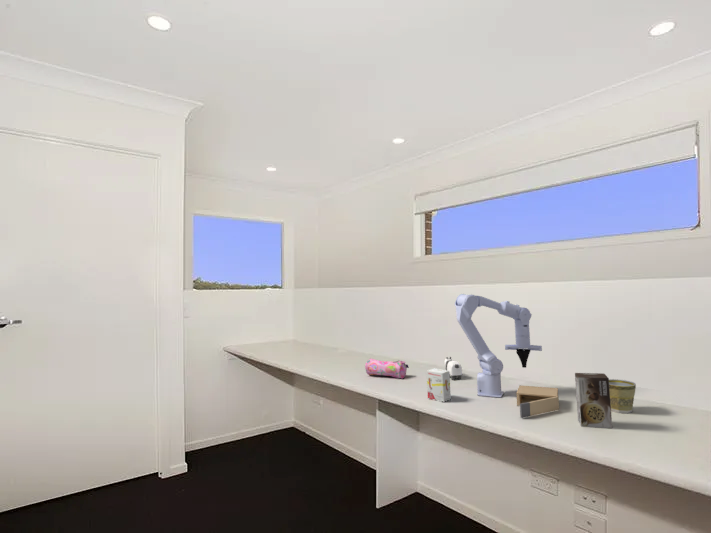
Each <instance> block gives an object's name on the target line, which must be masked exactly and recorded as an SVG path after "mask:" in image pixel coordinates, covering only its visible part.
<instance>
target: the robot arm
mask: <svg viewBox="0 0 711 533" xmlns="http://www.w3.org/2000/svg"><path fill="white" fill-rule="evenodd" d="M454 306H455V312H456V316H455V317H456V321H457V322H458V324H459V326H460V328H461V329H462V331H463V333H464V334H465V335H466V337H467V339H468V341H469V342H470V344H471V346H472V348H473V349H474V350H475V353H476V354H477V359H478V362H479V366H480V368H481V369H482V372H477V375H476V381H477V382H476V385H477V386H476V387H477V396H482V397H491V398H502V396H503V394H504V392H505V391H502V376H501V373H502V372H503V370H504V364H503V362H502V360H500V359H499V358H498V357H497V355H495V353H493V351H491V349H490V348H489V346H488V345H487V343H486V342H485V339H484V338H483V336H482V335H481V332H480V331H479V330H478V328H477V327H476V325H475V323H474V322H473V320H472V317H473V314H474V313H475V311H476V310H477V308H481V307H485V308H489V309H494V310H497V312H498V314H499V315H502V316H503V317H504V316H505V317H508V318H512V319H513V320H514V330H515V331H514V334H515V344H505V345H504V350H506V351H507V350H509V351H510V350H511V351H512V350H513V351H516V354H517V356H518V358H519V360H520V361H519V362H520V363H521V366H522V368H523V369H524V368H525V369H526V368H527V364H528V360H529V356H530V353H531V351H539V352H542V351H543V346H542V345H537V344H536V345H534V344H531V337H530V336H531V333H530V320H531V318H532V315H533V314H532V313H531V311H530V309H528V308H527V307H522V306H521V307H520V305H519V304H513V303H510V301H509V300H503V301H501V302H498V301H495V300H492V299H490V298H488V297H485V296H481V295H475V294H472V293H471V294H465V293H461V294H459V295H457V297H456V299H455V302H454Z"/></svg>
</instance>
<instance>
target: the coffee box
mask: <svg viewBox="0 0 711 533" xmlns="http://www.w3.org/2000/svg"><path fill="white" fill-rule="evenodd" d="M574 377H575V378H574V379H575V397H576V409H577V422H578V423H579V425H580V427H586V428H601V429H603V428H607V429H612V428H613V421H612V419H613V418H612V411H611V404H610V390H609V377H608V375H606V374H605V373H601V372H600V373H597V372H595V373H593V372H592V373H591V372H575V373H574Z"/></svg>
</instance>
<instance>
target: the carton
mask: <svg viewBox="0 0 711 533" xmlns="http://www.w3.org/2000/svg"><path fill="white" fill-rule="evenodd" d="M515 394H516V407H520V404H522V403H527V402H532V401H537V400H542V399H547V398H552V397H559V388H558V387H549V386H548V387H547V386H546V387H545V386H544V387H543V386H533V385H522V384H521V385H520V384H519V386H518V388H517V390H516V393H515Z"/></svg>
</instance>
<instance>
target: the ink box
mask: <svg viewBox="0 0 711 533" xmlns="http://www.w3.org/2000/svg"><path fill="white" fill-rule="evenodd" d="M426 386H427V387H426V388H427V399H428V398H430V399H429V400H432V399H435V400H434V401H436V400H439V401H438V402H440V401H443V402H442V403H445V401H446V402H448V401H447V400H449V401H451V400H450V399H452V398H451V375H450V372H449V371H447V370H446V369H440V368H437V367H436V368H431V369H427V370H426Z"/></svg>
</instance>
